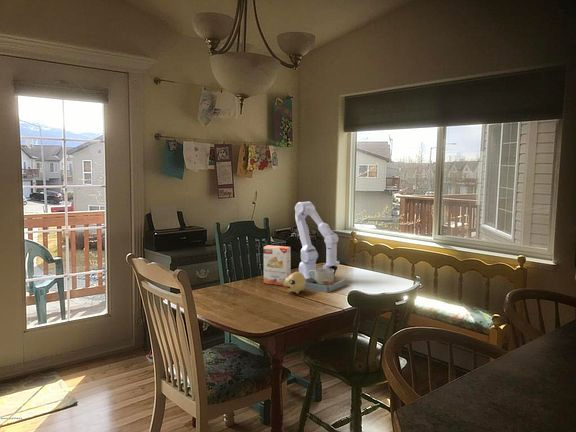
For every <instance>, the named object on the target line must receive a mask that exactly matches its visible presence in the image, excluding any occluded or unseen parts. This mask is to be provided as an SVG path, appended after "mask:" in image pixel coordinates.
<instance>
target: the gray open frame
mask: <svg viewBox="0 0 576 432" xmlns="http://www.w3.org/2000/svg"><path fill="white" fill-rule="evenodd" d="M313 277H315V276H313ZM305 279H306V284H305V289H307V290H310V291H311V290H312V291H317V292H322V293H323V292H324V293H331V292H333V291H335V290H338V289H339V288H340V289H341V288H342V287H345V286H347V279H345V278H344V279H341V280H339V281H337V282H333V284H332V285H329V286H324V285H320V284H318V283H314V282H316V281H315V280H314V279H313V278H311V277H309V278H305Z"/></svg>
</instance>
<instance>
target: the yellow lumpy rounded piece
mask: <svg viewBox="0 0 576 432" xmlns="http://www.w3.org/2000/svg"><path fill="white" fill-rule="evenodd" d="M283 284H284V286H283V287H285V288H286V289H288V292H290V293H295V294H296V295H297V294H299V293H300V292H301V291H303V290H305V289H306V288H305V284H306V278H305V277H304V276H303V274H301V273H300V272H299V271H295V272H291V275H290V276H289V277H286V278H285V279H283Z"/></svg>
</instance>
